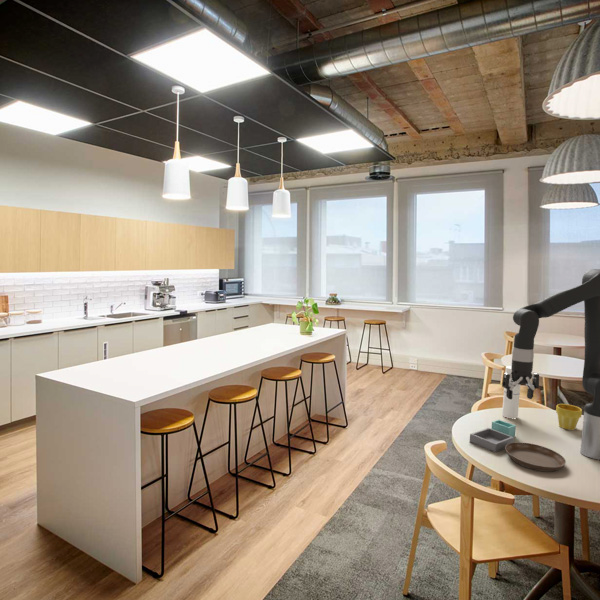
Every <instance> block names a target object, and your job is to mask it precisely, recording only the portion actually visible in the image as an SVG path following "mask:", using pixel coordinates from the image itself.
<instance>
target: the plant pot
mask: <svg viewBox="0 0 600 600" xmlns="http://www.w3.org/2000/svg"><path fill="white" fill-rule="evenodd" d="M555 408H556V409H555V413H556V414H557V421H558V426H559V427H560V428H562V429H564V430H568V429H569V430H568V431H574V430H576V428H577V425H578V422H579V420H580V418H582V416H583V415H582V414H583V409H582V408H580V407H579V406H577V405H572V404H567V403H558V404H557V405H556V407H555Z"/></svg>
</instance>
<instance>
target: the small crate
mask: <svg viewBox="0 0 600 600" xmlns="http://www.w3.org/2000/svg"><path fill="white" fill-rule="evenodd" d="M516 428H517V425H516V424H513V423H510V422H507V421H504V420H501V419H496V420H493V421H491V428H490V429H493V430H496V431H498V432H501V433H504V434H507V435H509V436H512V437H514V436H515V437H516V430H517V429H516ZM515 437H514V438H515Z"/></svg>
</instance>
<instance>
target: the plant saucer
mask: <svg viewBox="0 0 600 600" xmlns="http://www.w3.org/2000/svg"><path fill="white" fill-rule="evenodd" d="M504 450H505V451H506V453H507V454H508V456H509V458H511V460H513V461H514V462H515V463H517V464H518V465H520V466H522V467H525V468H527V469H529V470H530V469H531V470H535V471H541V472H555V471H557V470H559V469H561V468H563V467H564V466H565V465H566V463H567V461H566V459H565V457H564V456H563V455H562V454H560V453H559V452H557V451H555V450H553V449H551V448H548V447H545V446H543V445H540V444H534V443H529V442H523V441H522V442H519V441H517V442H516V441H515V442H514V443H510V444H507V445H506V447H505V449H504Z"/></svg>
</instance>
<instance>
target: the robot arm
mask: <svg viewBox="0 0 600 600" xmlns="http://www.w3.org/2000/svg"><path fill="white" fill-rule="evenodd" d="M582 302H584V331H583V332H584V333H583V334H584V362H583V371H582V378H581V379H582V380H581V381H582V387H583V388H582V389H583V390H584V391H585V392H586V393H587V394H589V395H591V396H593V401H592V402H591V403H586V404H585V405H584V407H583V408H584V409H583V410H584V411H583V421H582V427H581V428H582V430H581V441H580V450H579V451H580V454H582V455H583V456H585V457H588V458H591V459H593V460H598V461H599V460H600V269H599V268H591V269H589V270H587V271H586V272H584V274H583V276H582V280H581V284H580V285H577V286H575V287H572V288H569V289H566V290H563V291H559V292H556V293H554V294H552V295H548V297H546V298H543V299H541V300H539V301H537V302H535V303H532V304H529V305H526V306H522V307H521V308H519V309H517V310H516V311H515V312H514V313H513V315H512V320H513V322H514V323H515V325H518V326H519V330H518V332H517V333H515V334H514V339H513V349H512V355H511V356H512V357H511V365H510V366H511V369H512V372H511V374H507V373H505V372H503V374H502V375H503V377H502V383H501V384H502V385H501V386H502V388H503V389H504V388H506V389H507V394H506V396H507V398H508V399H512V394H513V390H512V389H513V388H514V387H515V386H517V384H518V385H520V386H522V385H526V387H527V393H526V397H527V399H529V400H532V399H533V398H534V391H535V390H536V389H539V388H540V374H539V373H536V372H533V371H534V370H533V367H534V357H535V355H534V346H535V338H536V334H537V331H538V329H539V326H540V319H542V318H550V317H552V316H553V315H557V314H558V313H560V312H562V311H564V310H566V309H568V308H570V307H572V306H575V305H576V304H579V303H582ZM511 378H512V379H511ZM509 379H511V380H510V381H509ZM531 379H532V381H531ZM513 382H514V383H513Z"/></svg>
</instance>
